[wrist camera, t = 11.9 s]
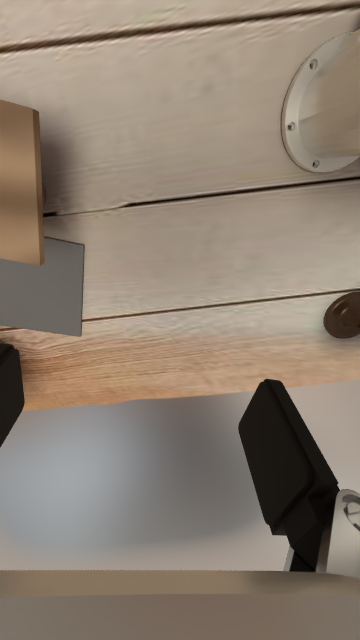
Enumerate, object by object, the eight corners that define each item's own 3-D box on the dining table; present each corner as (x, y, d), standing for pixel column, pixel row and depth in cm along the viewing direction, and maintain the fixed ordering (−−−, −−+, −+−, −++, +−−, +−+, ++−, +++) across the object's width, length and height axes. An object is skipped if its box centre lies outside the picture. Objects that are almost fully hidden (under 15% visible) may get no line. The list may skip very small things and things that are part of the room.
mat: (-39, 219, 34) (-42, 220, 33) (84, 244, 36) (83, 245, 36) (-20, 320, 42) (-22, 322, 41) (81, 335, 44) (80, 336, 44)
